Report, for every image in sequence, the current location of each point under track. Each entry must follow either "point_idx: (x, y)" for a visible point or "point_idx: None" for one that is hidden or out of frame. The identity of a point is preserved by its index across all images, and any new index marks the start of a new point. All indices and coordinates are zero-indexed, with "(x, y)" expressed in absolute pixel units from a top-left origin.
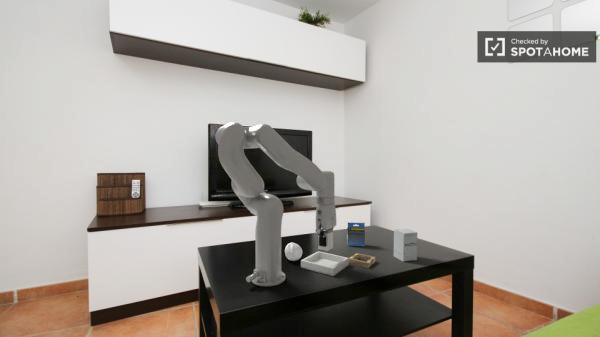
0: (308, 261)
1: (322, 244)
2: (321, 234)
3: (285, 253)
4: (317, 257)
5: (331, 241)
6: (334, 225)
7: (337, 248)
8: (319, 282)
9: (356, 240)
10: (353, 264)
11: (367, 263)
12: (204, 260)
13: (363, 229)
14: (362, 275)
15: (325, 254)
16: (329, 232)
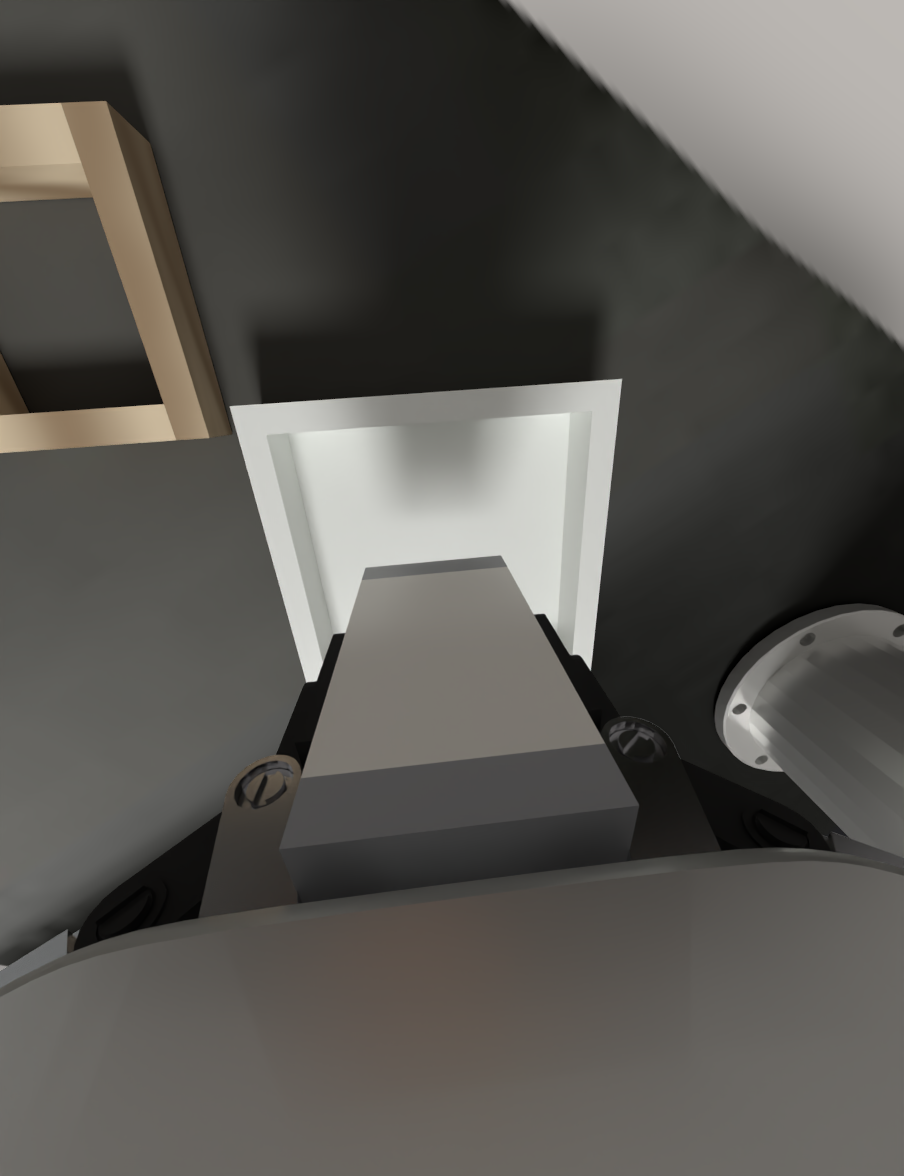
0: (577, 650)
1: (575, 660)
2: (751, 796)
3: None
4: None
5: (407, 627)
6: (168, 1002)
7: (23, 702)
8: (743, 412)
9: None
10: (212, 367)
11: (114, 120)
12: None
13: None
14: (391, 98)
15: (323, 652)
16: (518, 767)
